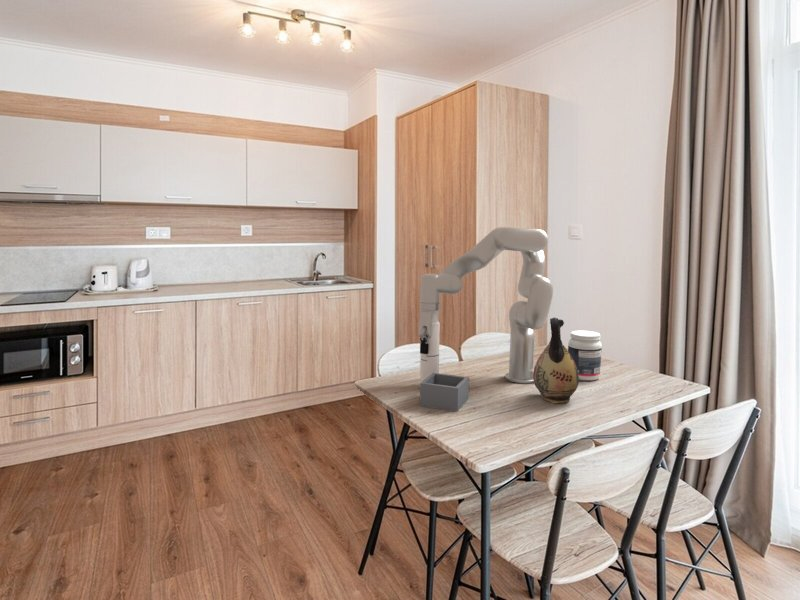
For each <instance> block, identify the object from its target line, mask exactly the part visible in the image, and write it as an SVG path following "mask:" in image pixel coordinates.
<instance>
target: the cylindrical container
mask: <svg viewBox="0 0 800 600" xmlns="http://www.w3.org/2000/svg"><path fill="white" fill-rule="evenodd" d="M440 323H441V322H440V321H439V320H438V322H436V323H434V324H433V331H432V337H431V338H429V341H428V344H429V352H428V354H421V353H419V354H420V361H419V363H420V365H419V366H420V370H419V373H420V375H419V376H420V378H419V379H420V380H419V384H420V383H421V382H422V381H424V380H425V379H426V378H427V377H428V376H430V375H431V374H432V373H439V374H440V372H439V371H440V331H441V330H440V328H441V327H440V326H441V324H440ZM424 335H427V336H428V334H427V330H426V332H425V334H424ZM425 339H427V338H425Z"/></svg>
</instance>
